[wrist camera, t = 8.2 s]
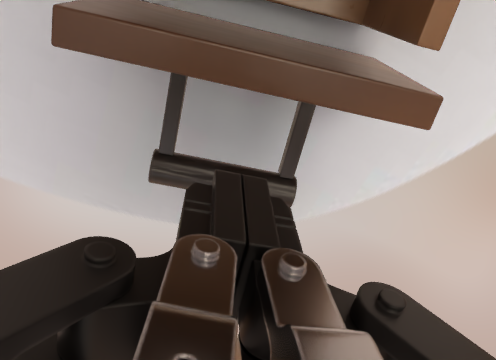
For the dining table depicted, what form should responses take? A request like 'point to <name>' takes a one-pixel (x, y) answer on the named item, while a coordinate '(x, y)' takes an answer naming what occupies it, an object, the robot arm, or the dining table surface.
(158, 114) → the dining table surface
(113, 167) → the dining table surface
